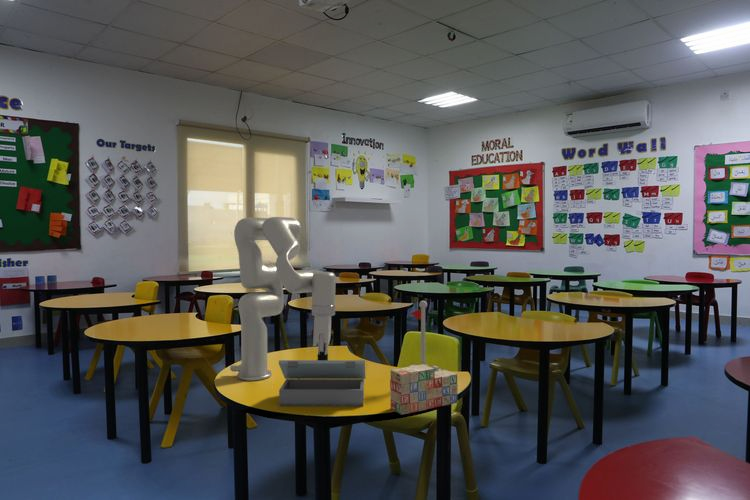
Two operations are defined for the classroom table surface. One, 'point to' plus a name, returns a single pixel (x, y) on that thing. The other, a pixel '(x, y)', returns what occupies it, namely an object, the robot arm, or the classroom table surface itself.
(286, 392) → the grey open box
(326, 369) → the grey flat panel
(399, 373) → the stack of blocks
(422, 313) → the flag stand
